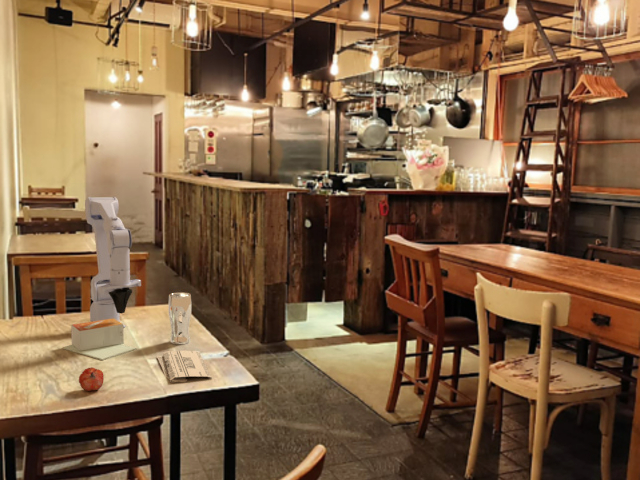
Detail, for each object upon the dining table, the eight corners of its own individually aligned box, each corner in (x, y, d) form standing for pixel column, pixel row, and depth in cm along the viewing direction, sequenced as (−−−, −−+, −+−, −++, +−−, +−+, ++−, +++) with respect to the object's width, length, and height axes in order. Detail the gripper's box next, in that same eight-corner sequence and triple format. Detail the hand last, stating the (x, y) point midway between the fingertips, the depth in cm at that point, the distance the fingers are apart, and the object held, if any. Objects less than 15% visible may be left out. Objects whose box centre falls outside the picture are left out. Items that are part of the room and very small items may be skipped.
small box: (123, 323, 175) (79, 330, 167) (124, 343, 176) (79, 351, 167) (114, 317, 181) (70, 324, 173) (114, 337, 182) (71, 344, 174)
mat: (62, 348, 171) (62, 347, 171) (96, 338, 181) (96, 337, 181) (102, 360, 162) (102, 359, 162) (136, 349, 172) (136, 348, 172)
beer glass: (195, 339, 183) (195, 293, 181) (183, 346, 176) (183, 298, 174) (176, 337, 185) (176, 291, 183) (164, 343, 178) (163, 295, 176)
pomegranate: (78, 394, 142) (75, 385, 136) (81, 372, 145) (79, 362, 139) (102, 395, 143) (101, 386, 137) (105, 373, 146) (104, 363, 140)
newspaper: (156, 358, 166) (156, 350, 166) (198, 359, 170) (199, 350, 170) (163, 387, 145) (164, 377, 145) (211, 386, 149) (212, 377, 149)
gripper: (108, 274, 167) (109, 319, 169) (147, 267, 179) (148, 309, 181) (93, 271, 171) (94, 316, 172) (132, 264, 183) (132, 306, 185)
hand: (120, 312), depth 177 cm, fingers closed
